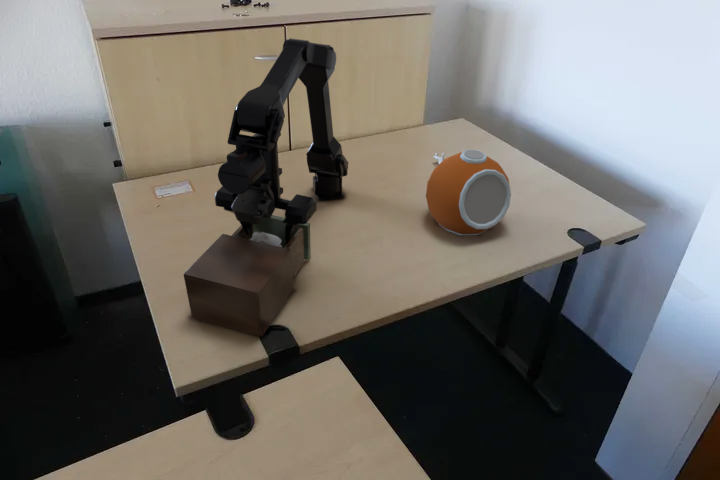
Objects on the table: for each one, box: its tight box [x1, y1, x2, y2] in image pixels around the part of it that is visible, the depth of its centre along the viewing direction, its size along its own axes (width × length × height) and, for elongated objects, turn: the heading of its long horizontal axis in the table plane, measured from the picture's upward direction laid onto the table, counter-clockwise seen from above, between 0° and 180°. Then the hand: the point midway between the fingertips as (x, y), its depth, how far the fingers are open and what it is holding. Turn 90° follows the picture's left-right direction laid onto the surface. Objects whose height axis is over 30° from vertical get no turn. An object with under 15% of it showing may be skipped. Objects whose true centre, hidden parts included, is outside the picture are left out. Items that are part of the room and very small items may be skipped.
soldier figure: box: [432, 151, 445, 165], centre depth 147 cm, size 8×5×12 cm
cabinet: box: [183, 233, 294, 338], centre depth 99 cm, size 13×14×10 cm
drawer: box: [231, 214, 312, 280], centre depth 110 cm, size 17×13×9 cm
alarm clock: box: [425, 149, 512, 236], centre depth 124 cm, size 19×18×17 cm
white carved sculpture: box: [250, 232, 282, 247], centre depth 108 cm, size 6×7×7 cm
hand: (268, 238), depth 107 cm, fingers open, 8 cm apart
